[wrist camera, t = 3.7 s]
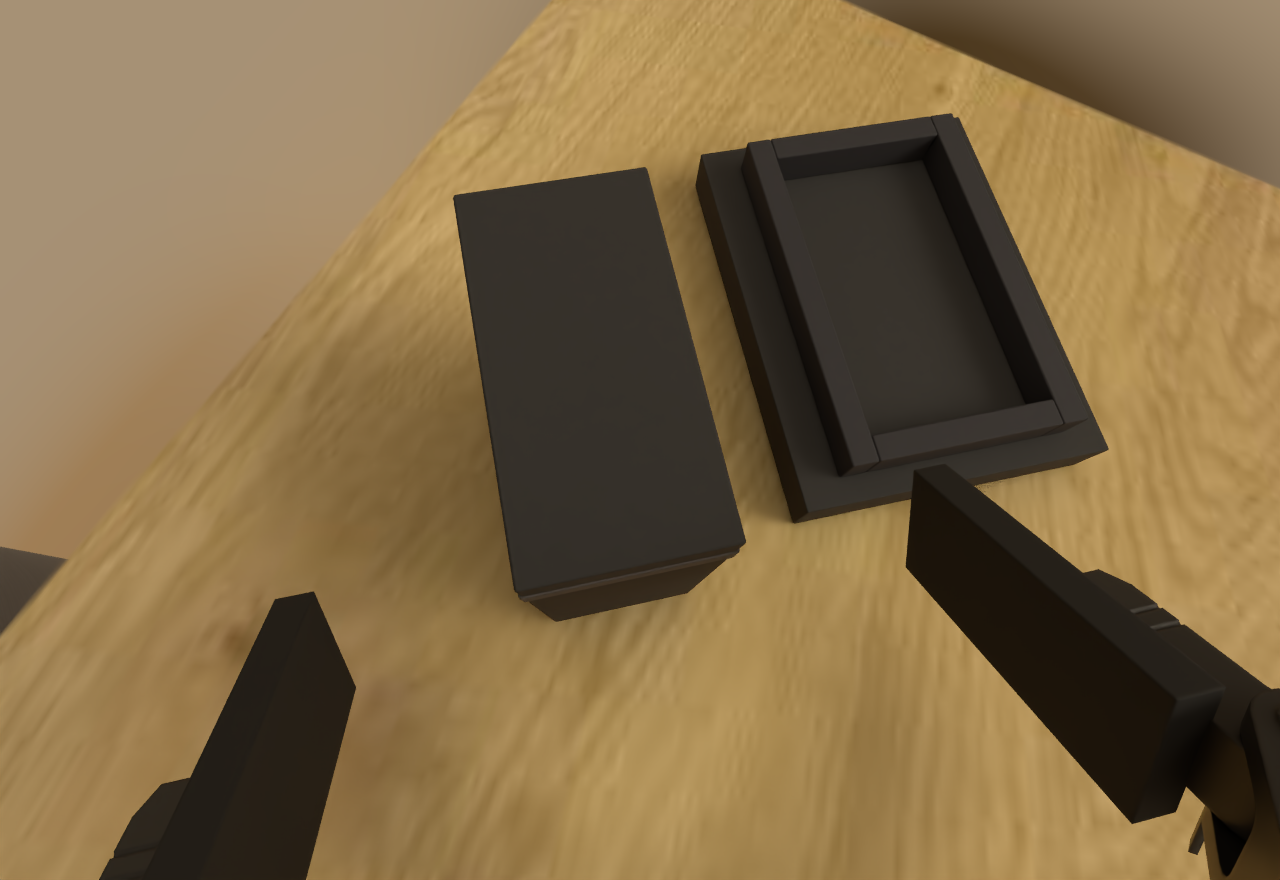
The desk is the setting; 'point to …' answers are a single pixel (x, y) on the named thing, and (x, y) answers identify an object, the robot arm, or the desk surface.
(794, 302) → the base pad
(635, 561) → the black block
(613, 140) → the desk surface
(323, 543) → the desk surface
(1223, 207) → the desk surface
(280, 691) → the robot arm
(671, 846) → the desk surface
